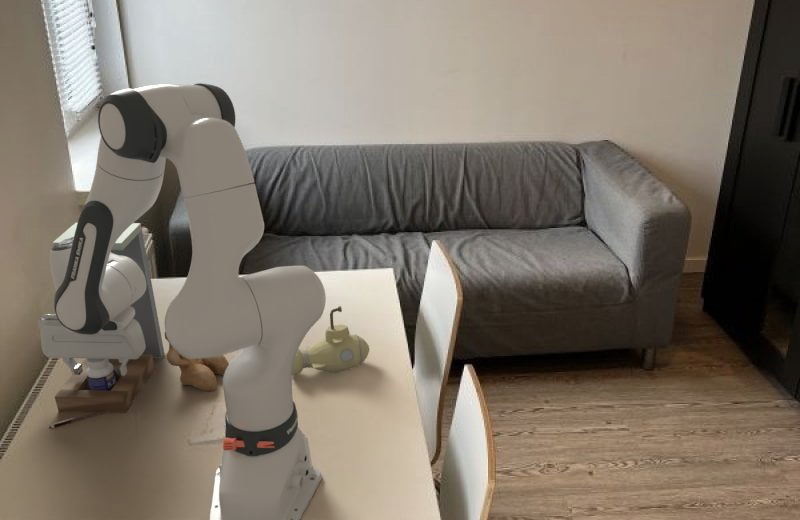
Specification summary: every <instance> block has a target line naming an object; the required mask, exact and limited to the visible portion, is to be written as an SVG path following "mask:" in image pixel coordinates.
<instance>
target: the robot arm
mask: <svg viewBox="0 0 800 520" xmlns="http://www.w3.org/2000/svg"><path fill="white" fill-rule="evenodd" d="M235 111H236V110H235V107H234V104H233V101H232V100H231V98H230V96H229V95H228V93H227V92H226V91H225V90H224V89H222V88H221V87H219V86H216V85H213V84H208V83H201V82H200V83H199V82H198V83H194V84H167V83H160V84H153V85H152V84H151V85H146V86H142V87H138V88H124V89H120V90H117V91H115V92H112V93H109V94H108V95H107V96H105V97H104V99H103V100H102V102H101V103H100V107H99V110H98V114H97V125H98V130H99V133H100V139H99V144H98V148H97V149H98V150H97V155H96V157H97V158H96V163H95V164H96V165H95V171H94V176H93V181H92V184H91V187H90V191H89V193H88V196H87V199H86V201H85V204H84V206H83V207H82V210H81V212H80V215H79V218H78V220H77V222H76V223H77V227H76V231H75V235H74V237H71V238H69V239H65V240H63V241H61V242H60V243H58V244H56V245H55V246H52V247H51V249H50V251H49V266H50V273H51V274H50V275H51V278H52V283H53V287H54V289H55V294H54V299H53V307H54V312H55V314H51V313H45V314H43V315H41V316H39V318H38V320H37V327H38V329H39V332H40V344H41V349H42V351H41V352H42V353H43V355H45V357H46V358H53V359H56V358H57V359H62V361H63V363H64V364H65V365H66V366H67V367H68V368H69V369H70V371H71V374H72V375H80V374H81V373H82V371H83V369H82V364H81V363H78V362H77V361H76V359H86V358H93V359H119V362H120V363H122V364H121V365H118V367H117V368H116V372H117V376H125V375H126V373H127V367H126V365H127V363H128V360H129V359H138V358H139V357H140V356H141V355H142V354H143V352H144V350H145V347H146V345H145V340H144V336H143V332H142V329H141V327H140V325H139V323H138V322H137V321H136V320H135V319H133V317H134V315H135V310H134V308H133V307H131V306H130V305H132V304H133V303H134V302H136V301H137V300H138V299H139V298H140V297H141V296H143V295H144V294H145V292H146V290H147V278H146V274H145V272H144V270H143V268H142V267H141V265H140V264H139V263H138V262H137V261H136V260H134V259H132V258H130V257H128V256H124V255H116V254H114V253H111V249H112V247H113V245H114V244H115V242H116V241H117V239H118V238H119V237H120V236H121V235H122V233H123V232H124V231H125V230H126V229H127V228H128V227H129V226H130V225H131V224H133V223H135V222H136V221H138V219H139V218H141V217H142V216H143V215H145V213H147V212H148V211H149V210H150V209H151V208H152V207H153V205H154V204H155V203H156V201H157V199H158V197H159V194H160V192H161V189H162V186H163V181H164V175H165V169H166V161H167V159H168V160H169V161H171V163H172V164H173V165H174V166H175V169H176V171H177V175H178V179H179V184H180V189H181V190H180V191H181V194H182V197H183V202H184V205H185V210H186V211H185V212H186V215H187V219H188V220H187V222H188V225H189V226H188V227H189V232H190V238H191V246H192V247H191V248H192V250H191V251H192V252H191V253H192V255H191V261H190V267H189V269H188V270H189V271H188V273H187V274H188V275H187V276H186V279H185V281H184V284H183V286H182V287H181V289H180V290H179V292H178V294H177V295H175V297H174V298H173V299H172V301H171V302H170V304H169V305H168V307H167V310H166V313H165V317H164V333H165V332H166V336H167V339H168V341H169V342H168V341H167V342H168V344H169V343H170V344H171V346H172V347H173V348H174V349H175V351H176V352H178V353H179V354H180V355H181V356H183V357H185V358H187V359H189V360H191V359H202V358H211V357H218V356H222V355H224V356H225V355H228V354H231V353H235V352H237V351H240V350H241V351H240V352H239V353H238V354H237V355H236V356H235V357H234V358H233V359H232V360H231V361H230V362H229V365H228V366H227V368H226V370H225V373H224V375H223V377H222V389H223V396H224V403H225V409H226V412H225V415H224V434H223V435H222V437H223V441H222V443H223V444H222V456H221V463H220V464H219V466H218V468H217V469H216V470H215V475H214V476H215V477H214V482H213V487H212V488H213V490H212V495H211V501H210V502H211V503H210V508H209V509H210V510H209V516H208V520H301V518H302V516H303V514H304V513H305V511H306V509H307V507H308V505H309V503H310V502H311V500H312V497H313V496H314V494H315V492H316V490H317V489H318V487H319V485H320V482H321V481H322V478H323V475H322V471H321V470H320V469H319V468H317V467H316V466H314V465H313V462H312V456H311V450H310V449H311V448H310V445H309V439H308V436H307V435H306V434H304V433H303V432H302V430H301V429H300V427H298V425H299V422H298V420H299V419H298V418H299V416H298V410H297V408H296V407H297V406H296V404H295V402H294V400H293V399H294V398H293V384H292V383H293V375H292V366H293V362H294V358H295V355H296V353H297V350H298V349H300V346H301V344H302V342H303V340H304V338H305V337H306V335H307V333H308V332H309V331H310V330H311V329H312V328H313V327H314V325H315V324H316V323H317V322H318V321H319V320H320V319H322V316H323V314H324V311H325V309H326V307H325V306H326V302H327V301H326V300H327V299H326V298H327V296H326V290H325V288H324V284H323V282H322V281H321V279H320V277H319V275H317V273H316V272H315V271H314V270H312V269H311V268H309V267H308V266H306V265H285V266H276V267H273V268H269V269H265V270H261V271H257V272H254V273H251V274H246V275H243V276H239V268H240V265H241V262H242V259H244V257H245V256H246V254H247V253H249V252H250V251H252V250H253V249H254V248H255V247H256V245H257V244H258V243H259V242H260V241H261V239H262V237H263V236H264V232H265V231H264V230H265V222H264V217H263V213H262V208H261V204H260V200H259V197H258V191H257V186H256V184H255V178H254V175H253V171H252V167H251V164H250V162H249V159H248V156H247V153H246V150H245V147H244V145H243V143H242V140H241V138H240V135H239V134H238V131H237V129H236V112H235ZM72 375H71V376H72Z"/></svg>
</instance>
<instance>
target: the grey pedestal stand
mask: <svg viewBox="0 0 800 520" xmlns="http://www.w3.org/2000/svg"><path fill="white" fill-rule="evenodd" d="M77 223H78V222H74V224H72V225H71V226H70V227H69V228H68V229H66V230H65V231H64V232H63V233H62V234H61V235H60V236H58V237H57V238H55V240H54V241H52V247H54V246H55V245H56V244H58V243H60V242H61V241H63V240H65V239H69V238H71V237H74V235H75V231H76V227H77ZM111 253H114V254H116V255H124V256H128V257H130V258H132V259H134V260H136V261H137V262H138V263H139V264H140V265H141V267H142V268H143V270H144V272H145V274H146V278H147V290H146V292H145V294H144V295H143V296H141V297H140V298H139V299H138V300H137V301H136V302H134V303H133V304H132V305H130V306H131V307H133V308H134V310H135V315H134V317H133V319H135V320H136V321H137V322H138V323H139V325H140V327H141V329H142V332H143V336H144V340H145V345H146V347H145V350H144V352H143V354H146V355H152V356H153V359H162V358H163V356H164V355H165V349H164V343H163V339H162V333H161V332H162V331H161V328H160V322H159V317H158V310H157V306H156V300H155V293H154V289H153V283H152V278H151V272H150V267H149V261H148V257H147V251H146V245H145V240H144V235H143V229H142V223H141V222H140V223H139V222H138V223H137V222H136V223H135V222H134V223H133V224H131V225H130V226H129V227H128V228H127V229H126V230H125V231H124V232H123V233H122V235H121V236H120V237H119V238H118V239H117V241H116V242H115V244H114V245H113V247H112V249H111Z"/></svg>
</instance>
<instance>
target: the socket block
mask: <svg viewBox="0 0 800 520" xmlns="http://www.w3.org/2000/svg"><path fill="white" fill-rule="evenodd" d="M109 362H110V363H111V364H112V365H113V368H114V372H115V377H116V382H117V383H116V384H115V385H114V387H113V388H112V390H111V391H102V390H90V387H89V383H88V379H87V374H86V371H87V368H88V363H87V358H84V360H82V362H81V363H80V364H82V369H83V371H82V373H81V374H80V375H71V376H70V377H69V378H68V379H67V380H66V382H65V383H64V385H62V387H61V388H60V389H59V391H58V392H57V393H56V394H55V395H54V400H55V403H56V408H57V412H71V413H72V412H74V413H75V412H76V413H77V412H78V413H79V412H80V413H95V412H99V411H105V413H109V414H110V413H111V414H112V413H113V414H116V413H117V414H126V413H127V412H128V411H129V409H130V408H131V406H132V404H133V403H134V401H135V399H136V398H137V396H138V395H139V394H140V392H141V390H142V389H143V387H144V386H145V384H146V383H147V381H148V380H149V378H150V376H151V375H152V373H153V372H154V370H155V362H154V358H153V356H152V355H146V354H142V355H141V356H140V357H139V358H138V359H129V360H128V363H127V365H126V367H127V373H126V375H125V376H117V372H116V368H117V367H118V365H121V364H122V363H120V362H119V359H109Z"/></svg>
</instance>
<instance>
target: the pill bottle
mask: <svg viewBox="0 0 800 520" xmlns="http://www.w3.org/2000/svg"><path fill="white" fill-rule="evenodd" d="M87 363H88V368H87V371H86V374H87V379H88V383H89V387H90V390H102V391H111V390H112V388H113V387H114V385H115V384H116V383H117V382H116V377H115V372H114V368H113V365H112V364H111V363H110V362H109V359H93V358H87Z"/></svg>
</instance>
